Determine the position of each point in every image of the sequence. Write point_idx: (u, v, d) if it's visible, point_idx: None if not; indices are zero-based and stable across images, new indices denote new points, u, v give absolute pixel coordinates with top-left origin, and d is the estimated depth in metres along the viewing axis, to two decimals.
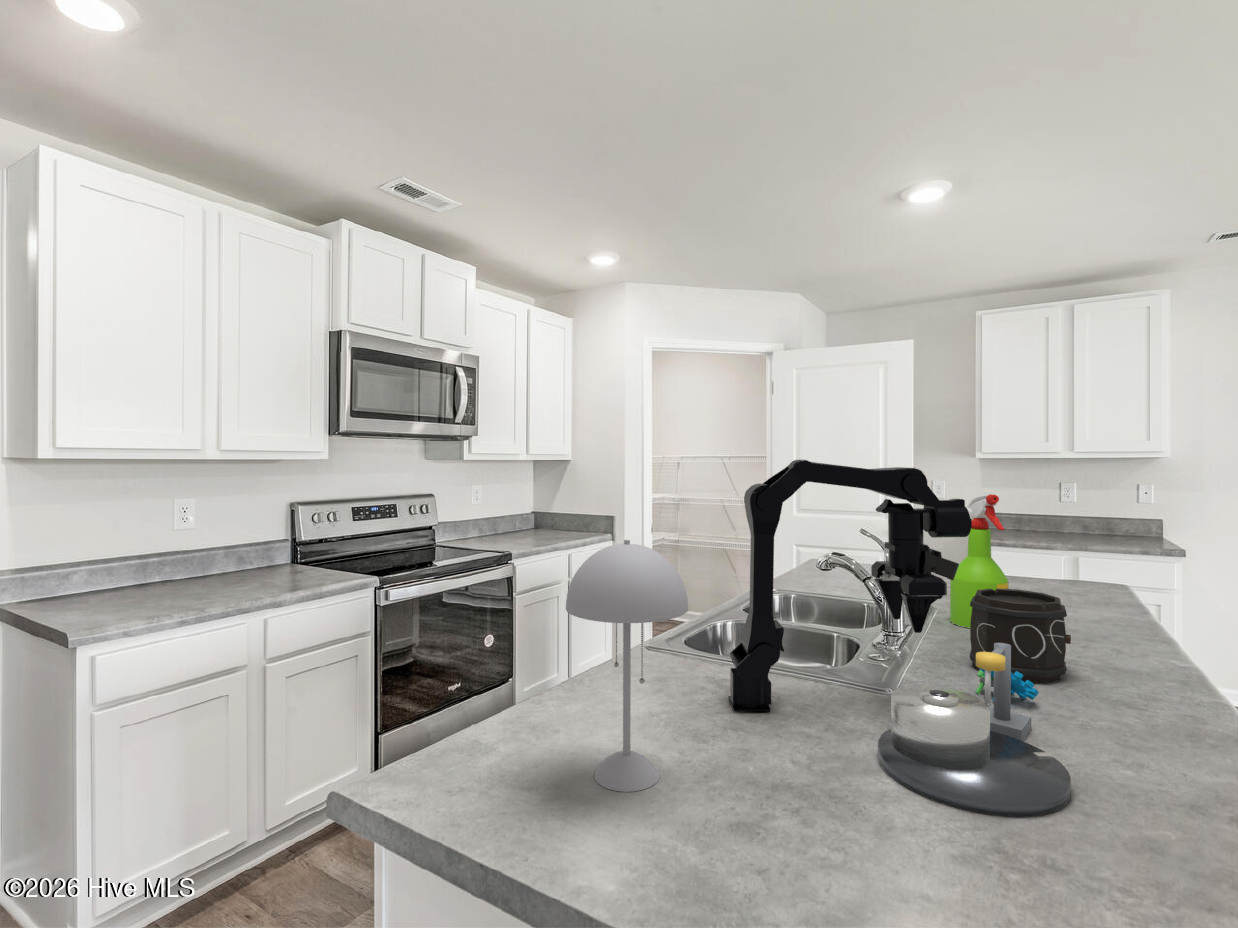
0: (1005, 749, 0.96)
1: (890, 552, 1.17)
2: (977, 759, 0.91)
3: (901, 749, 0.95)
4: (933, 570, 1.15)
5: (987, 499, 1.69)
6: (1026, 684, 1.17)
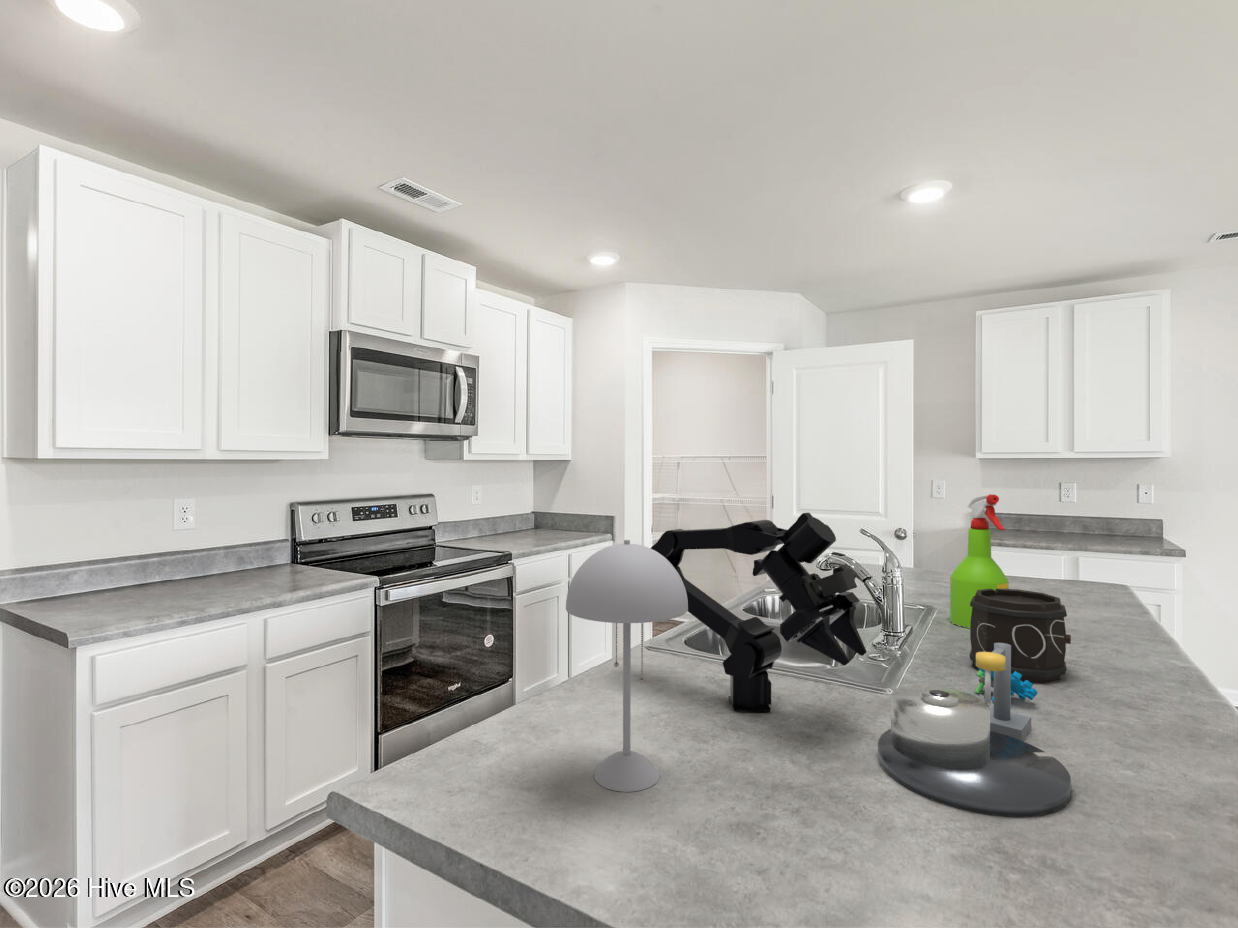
0: (1005, 749, 0.96)
1: None
2: (977, 759, 0.91)
3: (901, 749, 0.95)
4: (823, 595, 1.06)
5: (987, 499, 1.69)
6: (1025, 684, 1.17)
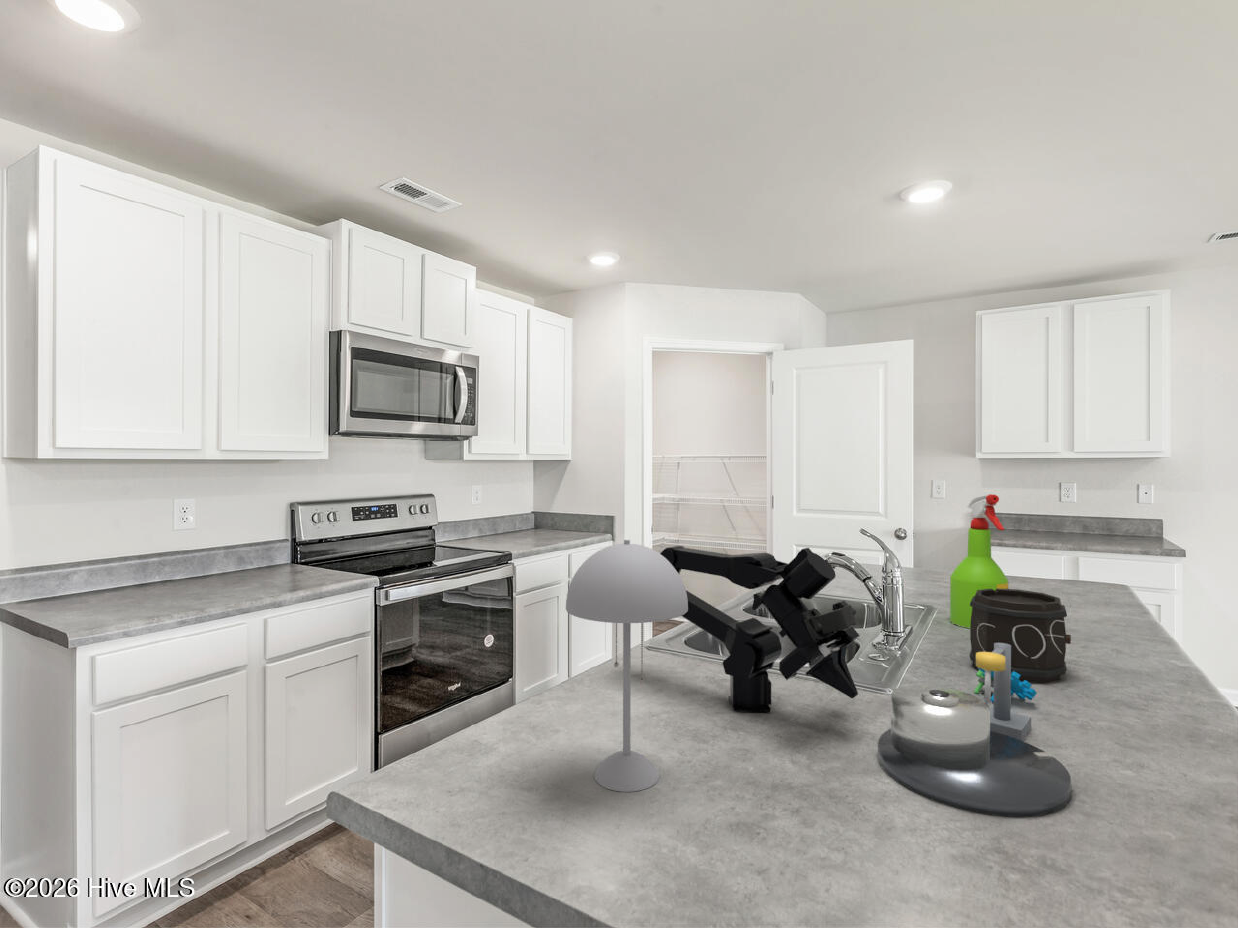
0: (1005, 749, 0.96)
1: None
2: (977, 759, 0.91)
3: (901, 749, 0.95)
4: (822, 632, 1.06)
5: (987, 499, 1.69)
6: (1023, 684, 1.17)
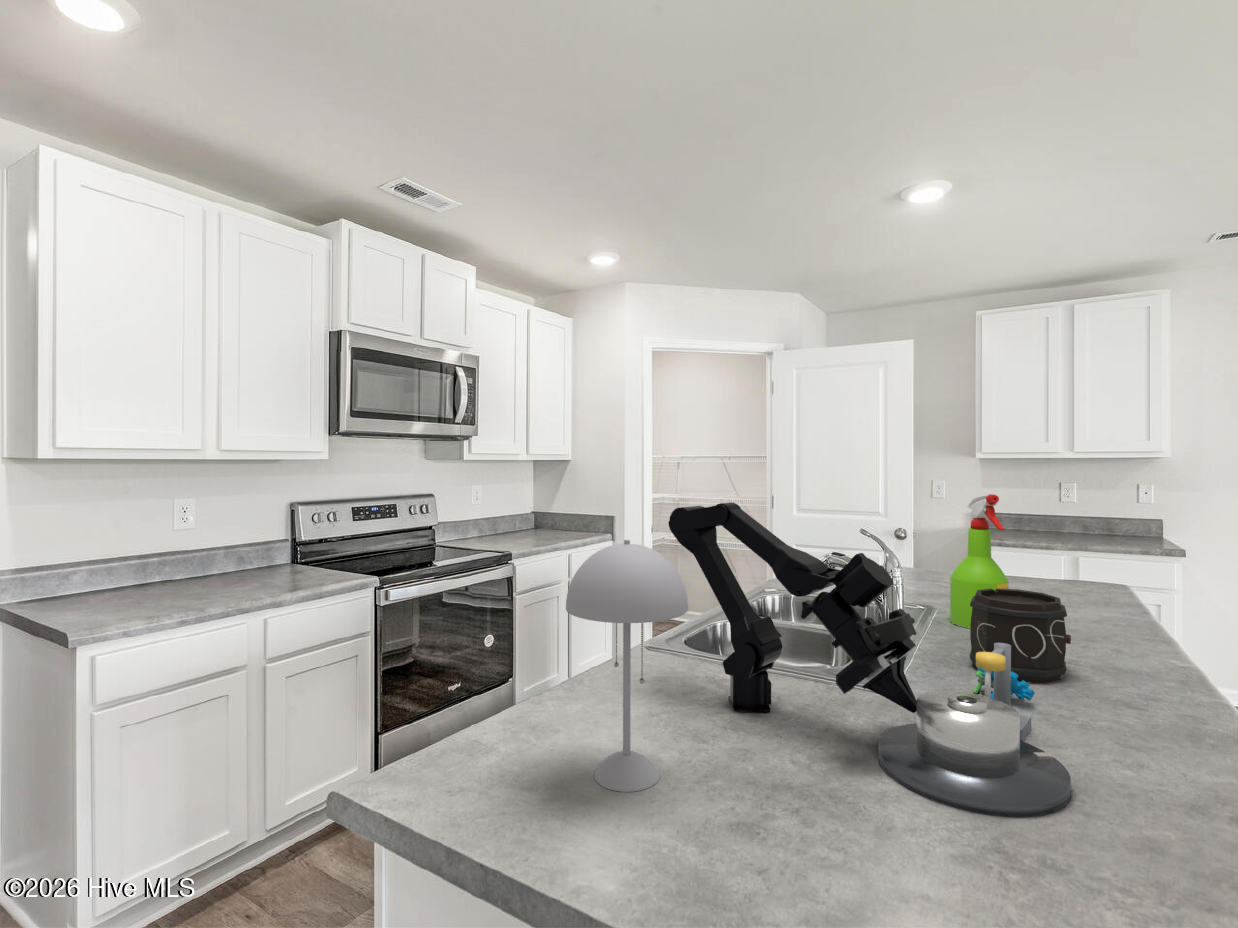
0: None
1: None
2: (1007, 768, 0.88)
3: (927, 756, 0.93)
4: (880, 642, 1.00)
5: (987, 499, 1.69)
6: (1021, 684, 1.17)
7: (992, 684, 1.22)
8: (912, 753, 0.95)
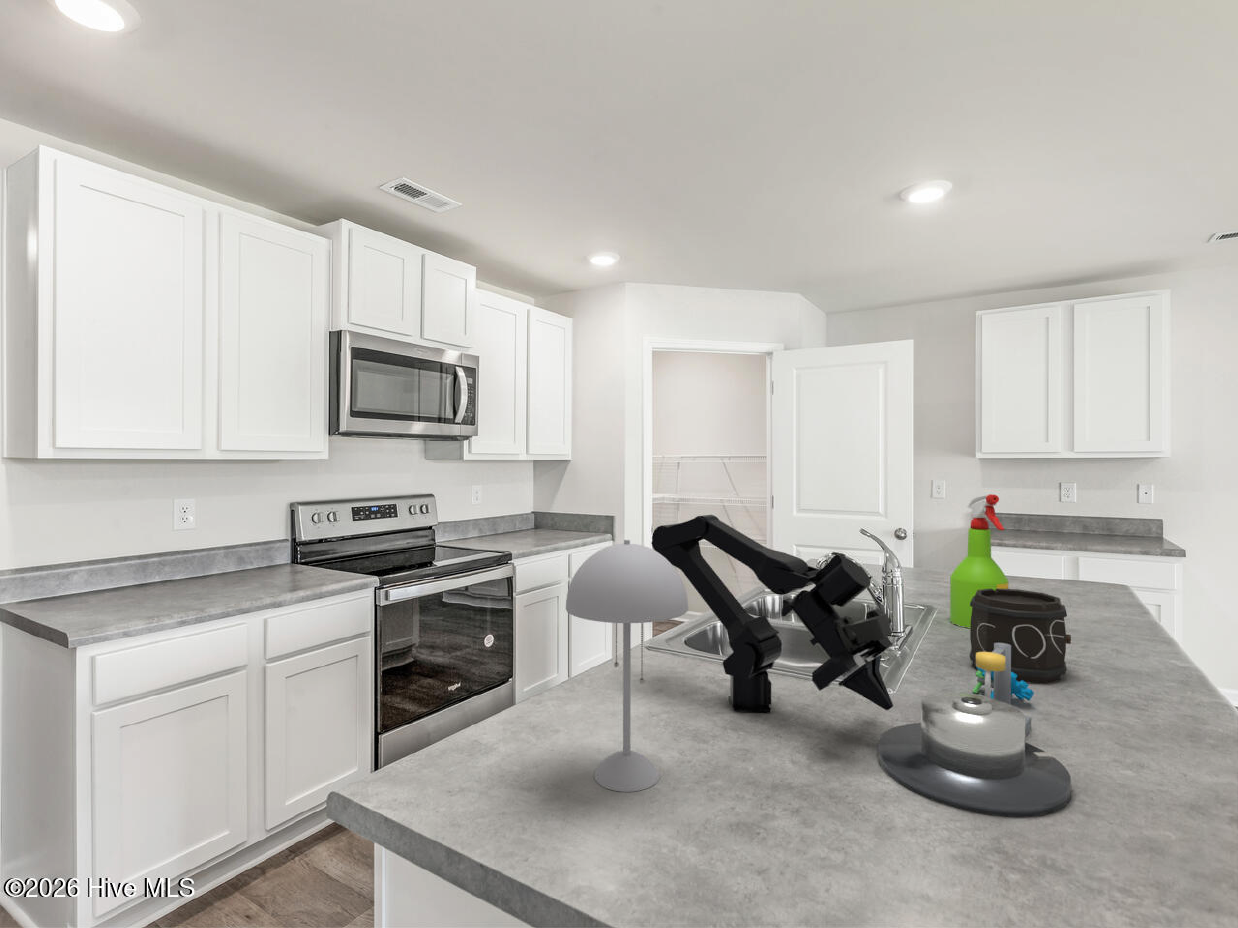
0: None
1: None
2: (1012, 769, 0.88)
3: (932, 757, 0.92)
4: (857, 641, 1.03)
5: (987, 499, 1.69)
6: (1020, 684, 1.17)
7: (991, 684, 1.22)
8: (912, 753, 0.95)
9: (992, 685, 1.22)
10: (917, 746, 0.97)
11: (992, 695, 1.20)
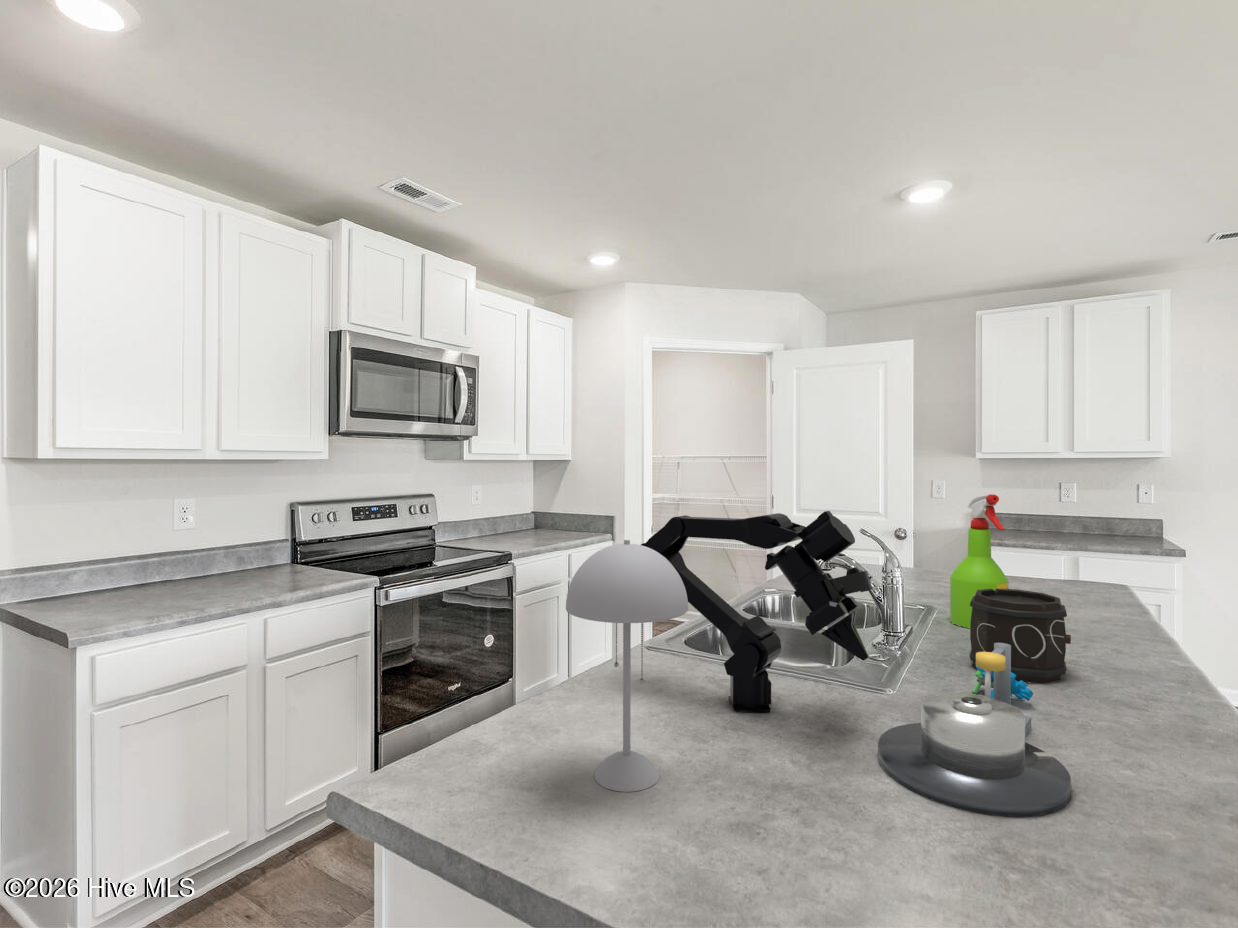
0: None
1: None
2: (1012, 769, 0.88)
3: (932, 757, 0.92)
4: (843, 592, 1.07)
5: (987, 499, 1.69)
6: (1019, 684, 1.17)
7: (991, 684, 1.22)
8: (912, 753, 0.95)
9: (991, 685, 1.22)
10: (917, 746, 0.97)
11: (991, 695, 1.20)
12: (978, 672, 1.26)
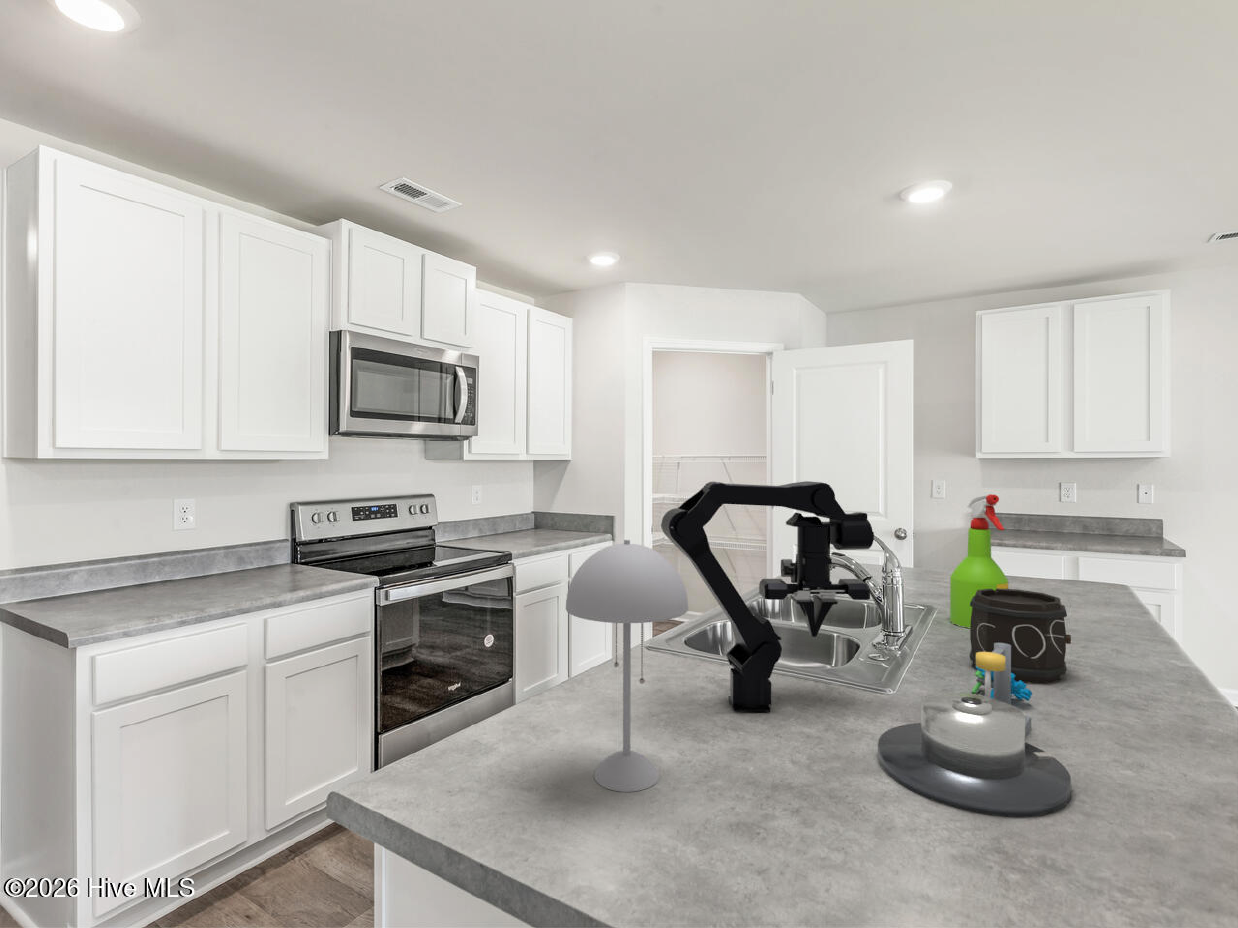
0: None
1: (819, 567, 1.17)
2: (1012, 769, 0.88)
3: (932, 757, 0.92)
4: None
5: (987, 499, 1.69)
6: (1018, 684, 1.17)
7: None
8: (912, 753, 0.95)
9: (991, 685, 1.22)
10: (917, 746, 0.97)
11: None
12: (978, 672, 1.26)
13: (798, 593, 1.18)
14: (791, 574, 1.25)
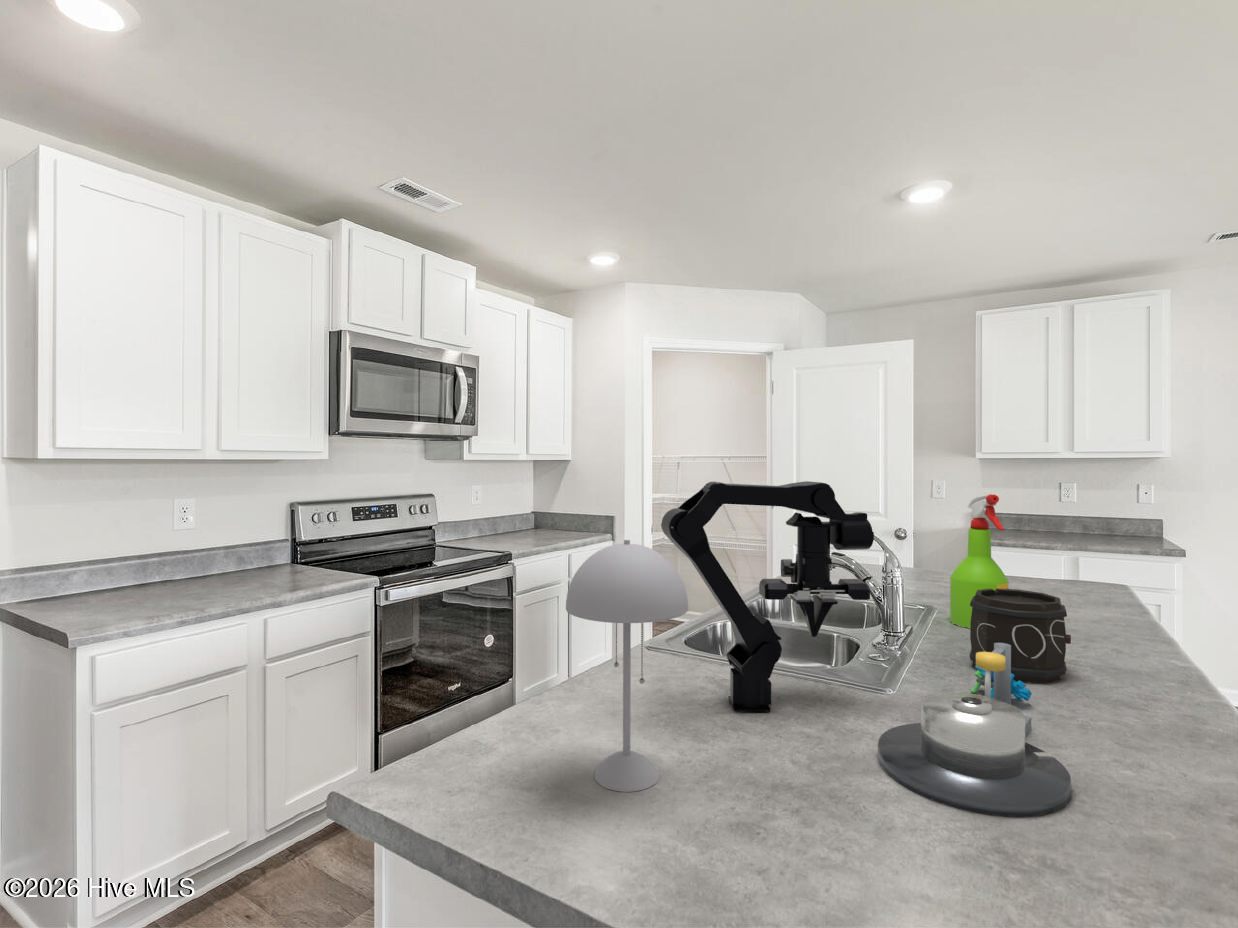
0: None
1: (819, 567, 1.17)
2: (1012, 769, 0.88)
3: (932, 757, 0.92)
4: None
5: (987, 499, 1.69)
6: (1017, 684, 1.17)
7: None
8: (912, 753, 0.95)
9: None
10: (917, 746, 0.97)
11: None
12: (977, 672, 1.26)
13: (798, 593, 1.18)
14: (791, 574, 1.25)
